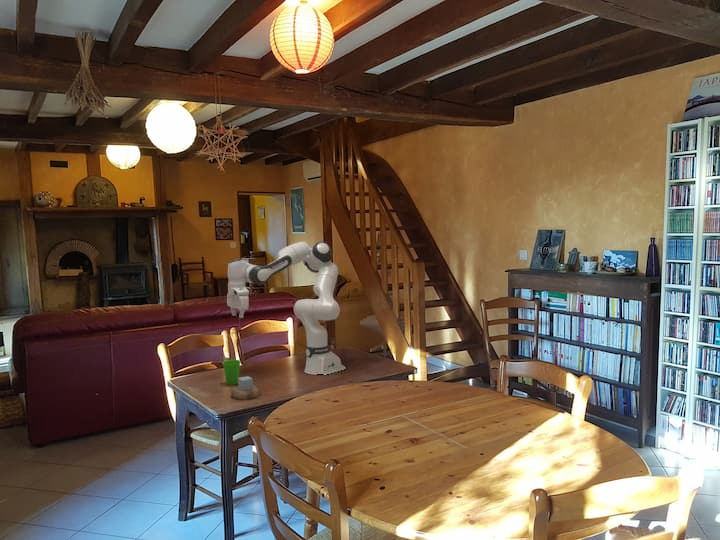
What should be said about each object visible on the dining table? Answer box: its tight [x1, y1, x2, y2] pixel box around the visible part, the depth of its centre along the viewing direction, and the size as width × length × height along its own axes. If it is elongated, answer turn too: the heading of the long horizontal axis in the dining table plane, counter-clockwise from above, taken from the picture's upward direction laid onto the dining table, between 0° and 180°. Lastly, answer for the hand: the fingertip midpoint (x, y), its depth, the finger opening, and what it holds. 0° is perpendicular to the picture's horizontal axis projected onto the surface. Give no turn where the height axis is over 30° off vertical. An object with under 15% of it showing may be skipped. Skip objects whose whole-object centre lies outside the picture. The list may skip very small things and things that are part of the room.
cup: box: [222, 359, 242, 386], centre depth 253 cm, size 9×9×11 cm
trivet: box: [230, 384, 261, 401], centre depth 235 cm, size 13×13×3 cm
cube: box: [237, 375, 254, 391], centre depth 235 cm, size 5×5×5 cm
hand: (237, 316), depth 265 cm, fingers open, 8 cm apart
